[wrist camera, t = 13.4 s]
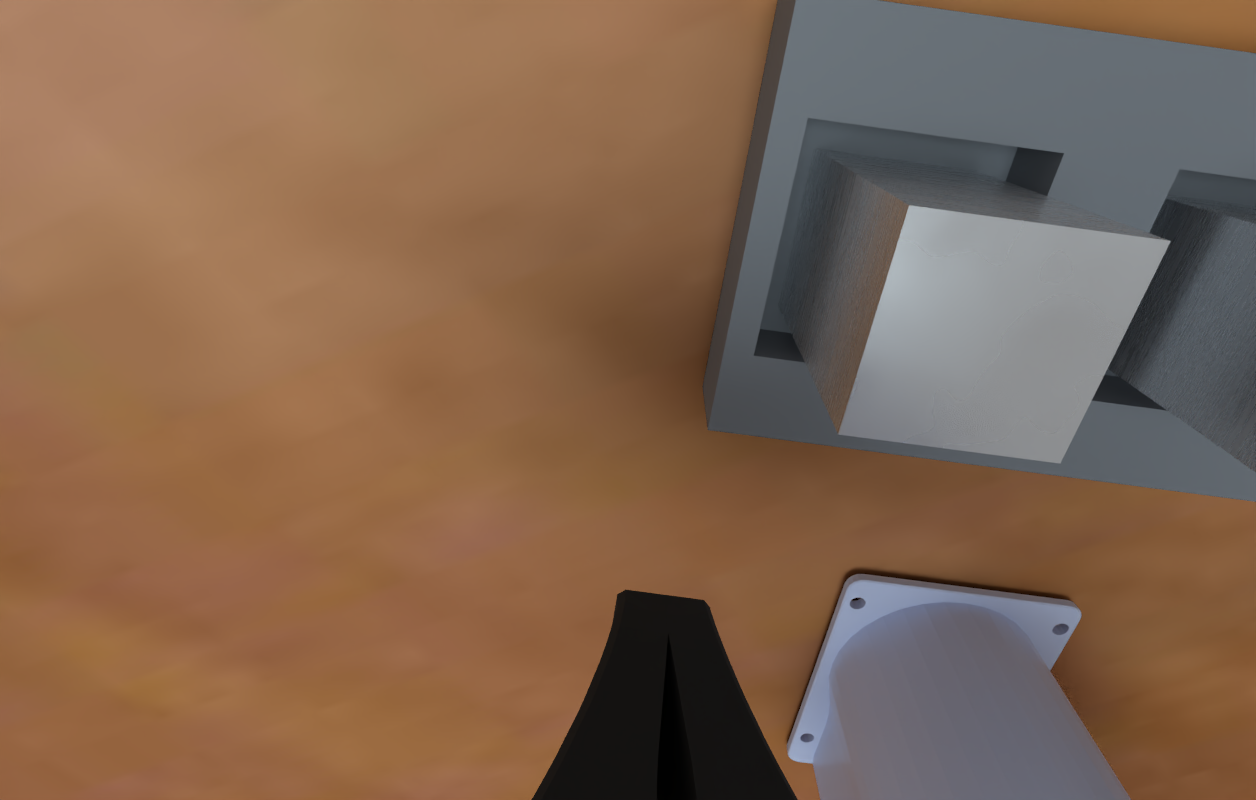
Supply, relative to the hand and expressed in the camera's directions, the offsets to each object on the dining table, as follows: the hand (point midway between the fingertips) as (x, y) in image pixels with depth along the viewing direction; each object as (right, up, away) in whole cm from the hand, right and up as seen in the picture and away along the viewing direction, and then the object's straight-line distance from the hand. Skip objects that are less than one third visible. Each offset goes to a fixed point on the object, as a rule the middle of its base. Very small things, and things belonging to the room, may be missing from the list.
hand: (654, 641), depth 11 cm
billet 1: (+6, +8, +7) cm, 12 cm away
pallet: (+10, +8, +7) cm, 14 cm away
